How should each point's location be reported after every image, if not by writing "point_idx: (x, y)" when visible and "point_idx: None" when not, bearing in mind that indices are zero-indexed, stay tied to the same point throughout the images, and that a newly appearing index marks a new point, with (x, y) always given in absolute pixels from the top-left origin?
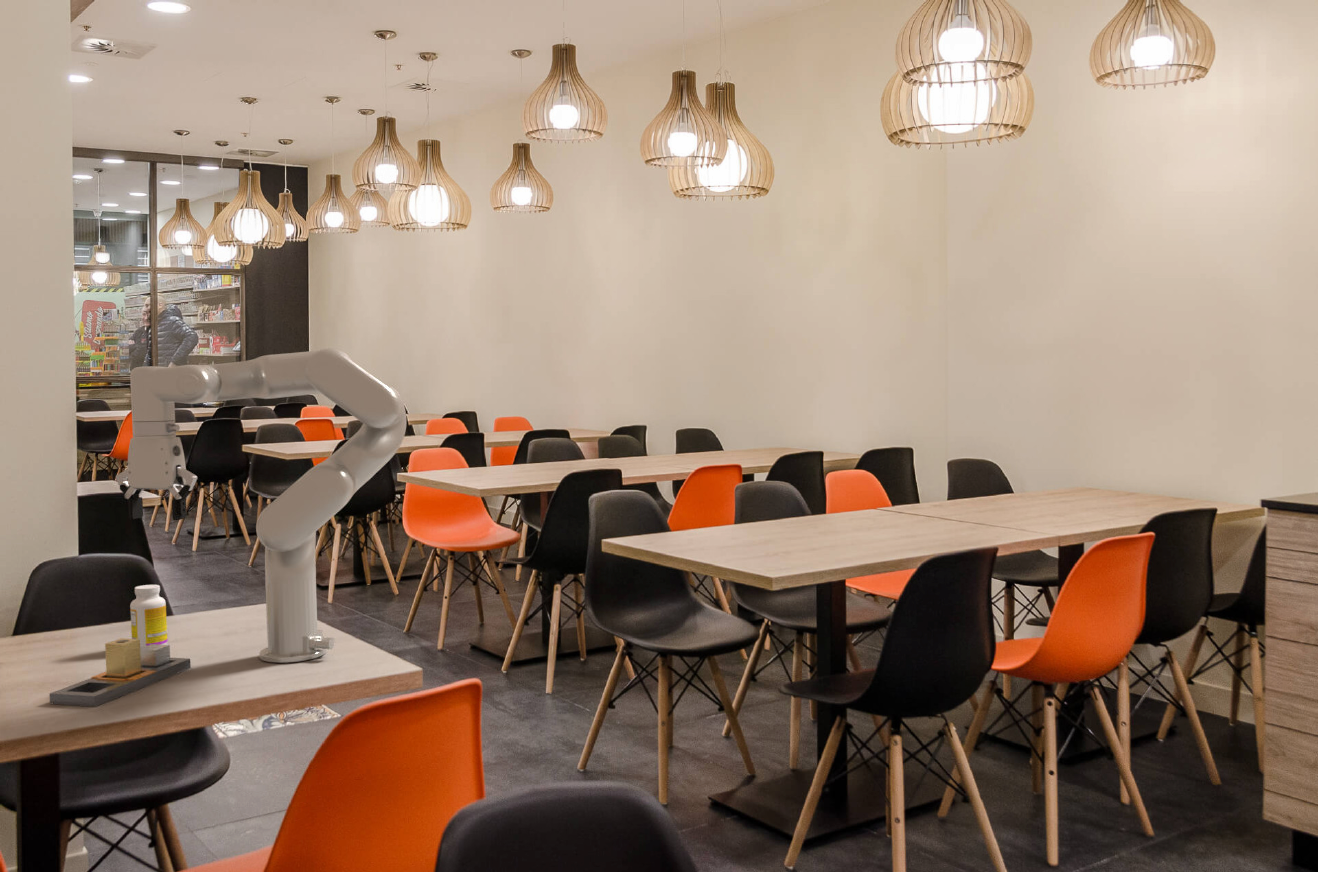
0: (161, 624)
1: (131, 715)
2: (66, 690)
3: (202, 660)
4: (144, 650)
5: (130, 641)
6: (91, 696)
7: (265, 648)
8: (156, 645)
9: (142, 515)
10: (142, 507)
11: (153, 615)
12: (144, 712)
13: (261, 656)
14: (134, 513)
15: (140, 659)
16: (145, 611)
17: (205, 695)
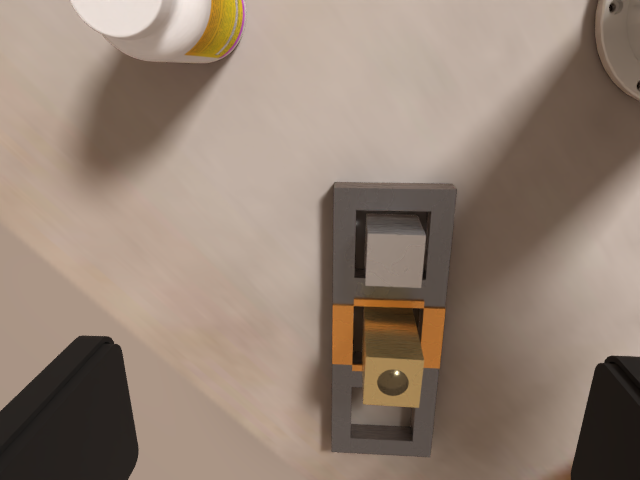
0: (229, 11)
1: (526, 471)
2: (349, 434)
3: (440, 112)
4: (388, 285)
5: (413, 380)
6: (423, 456)
7: (606, 11)
8: (390, 243)
9: (113, 355)
10: (64, 408)
11: (210, 36)
12: (540, 457)
13: (623, 88)
14: (115, 475)
15: (417, 332)
16: (187, 53)
17: None
